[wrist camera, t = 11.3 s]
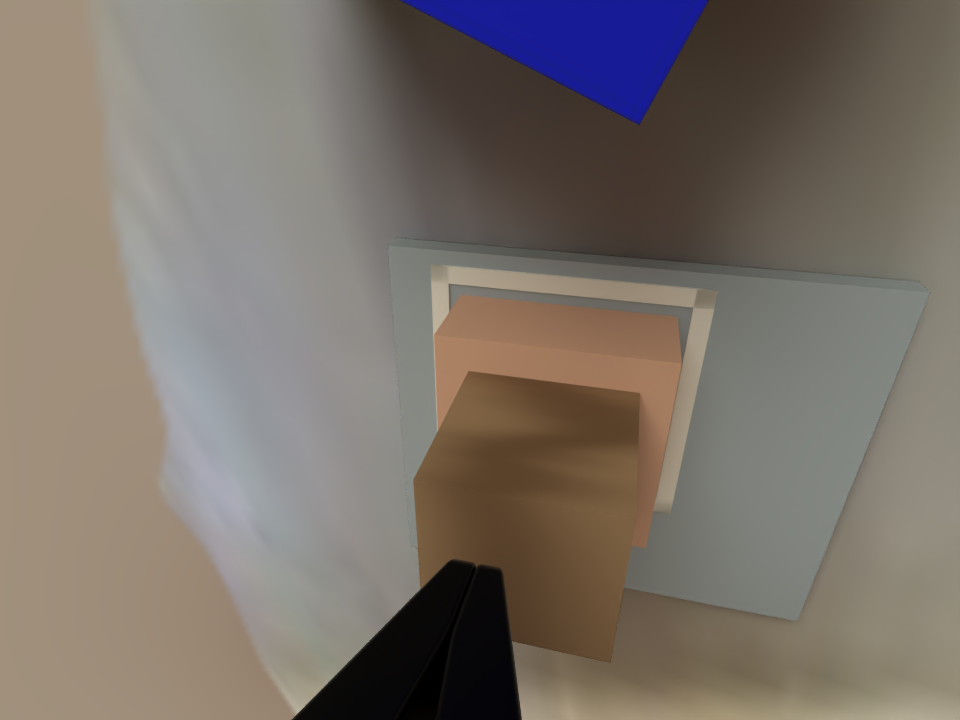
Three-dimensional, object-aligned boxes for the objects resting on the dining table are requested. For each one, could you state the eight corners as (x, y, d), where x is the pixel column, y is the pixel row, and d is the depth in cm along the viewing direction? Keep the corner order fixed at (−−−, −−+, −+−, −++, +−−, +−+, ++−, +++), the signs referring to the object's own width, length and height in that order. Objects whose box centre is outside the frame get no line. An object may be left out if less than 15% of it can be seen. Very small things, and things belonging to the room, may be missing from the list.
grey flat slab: (919, 281, 17) (931, 293, 17) (793, 604, 24) (797, 623, 24) (396, 238, 21) (386, 246, 20) (416, 533, 28) (409, 548, 27)
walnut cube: (639, 392, 17) (636, 517, 13) (619, 523, 20) (610, 663, 15) (468, 371, 18) (413, 479, 14) (469, 496, 21) (422, 621, 16)
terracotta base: (677, 316, 19) (682, 363, 16) (646, 487, 22) (645, 548, 20) (461, 294, 20) (434, 334, 18) (463, 458, 24) (441, 511, 21)
